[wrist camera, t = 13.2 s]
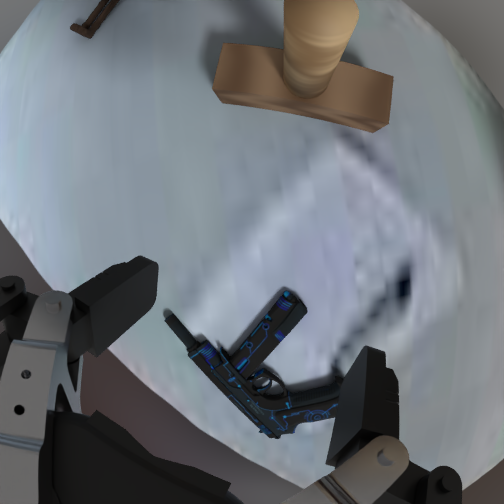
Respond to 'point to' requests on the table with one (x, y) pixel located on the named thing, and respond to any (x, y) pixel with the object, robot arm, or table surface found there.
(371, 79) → the walnut rail
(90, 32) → the brown toy figure
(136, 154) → the table surface
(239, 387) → the gun
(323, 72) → the oak post
